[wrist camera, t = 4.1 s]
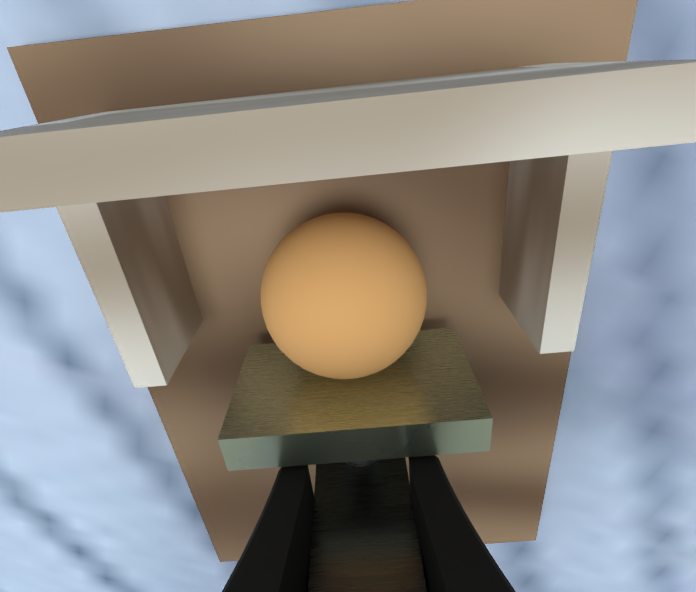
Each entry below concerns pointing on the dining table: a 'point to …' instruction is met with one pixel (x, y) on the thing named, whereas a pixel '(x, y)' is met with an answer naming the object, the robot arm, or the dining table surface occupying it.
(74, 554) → the dining table surface
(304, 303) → the ball
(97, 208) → the brown piece
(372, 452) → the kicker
